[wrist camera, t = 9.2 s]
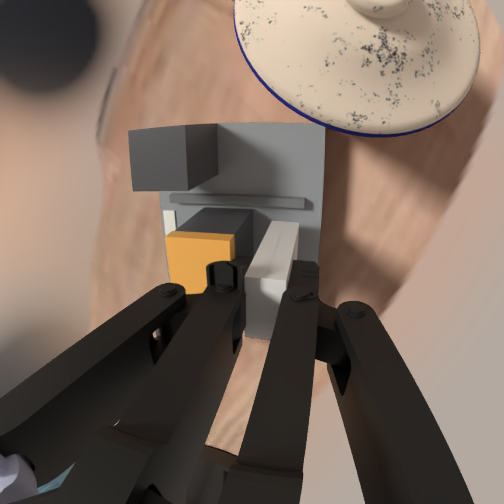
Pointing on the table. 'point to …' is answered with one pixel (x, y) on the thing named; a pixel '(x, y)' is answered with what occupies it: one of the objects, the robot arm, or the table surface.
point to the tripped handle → (207, 244)
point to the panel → (235, 174)
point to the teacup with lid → (362, 59)
